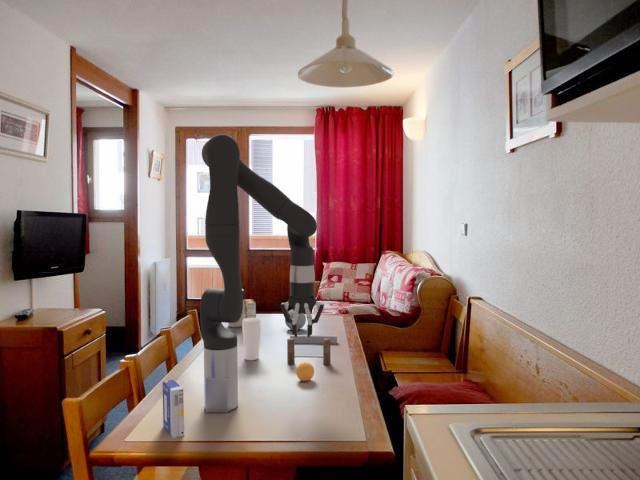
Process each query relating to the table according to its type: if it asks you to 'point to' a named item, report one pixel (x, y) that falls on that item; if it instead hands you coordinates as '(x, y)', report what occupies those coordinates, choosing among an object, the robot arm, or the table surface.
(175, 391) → the blue and white carton
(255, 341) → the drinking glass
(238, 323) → the travel mug
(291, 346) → the post left
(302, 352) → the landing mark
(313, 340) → the gray bar
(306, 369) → the ball
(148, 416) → the table surface
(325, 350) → the post right
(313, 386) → the table surface
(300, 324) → the decorative stone
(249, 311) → the candy box
